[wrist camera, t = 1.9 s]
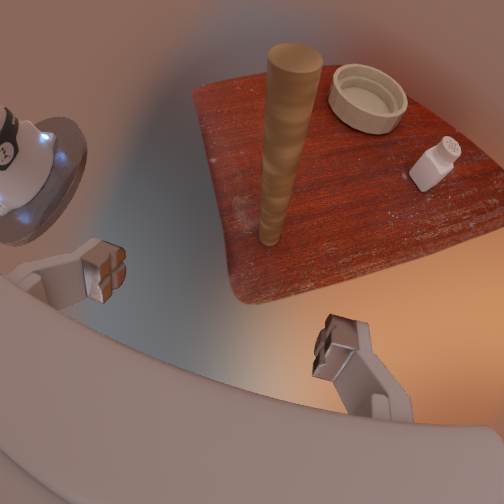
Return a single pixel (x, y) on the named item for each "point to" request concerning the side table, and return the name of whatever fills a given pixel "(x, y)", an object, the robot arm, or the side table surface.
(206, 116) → the side table surface
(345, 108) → the bowl
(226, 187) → the side table surface
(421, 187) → the salt shaker
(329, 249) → the side table surface
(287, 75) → the stirring stick
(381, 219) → the side table surface
